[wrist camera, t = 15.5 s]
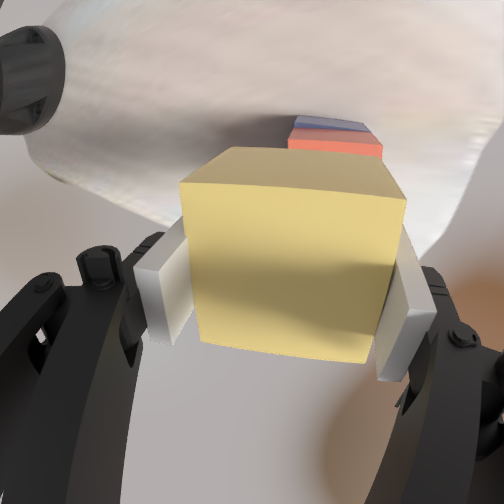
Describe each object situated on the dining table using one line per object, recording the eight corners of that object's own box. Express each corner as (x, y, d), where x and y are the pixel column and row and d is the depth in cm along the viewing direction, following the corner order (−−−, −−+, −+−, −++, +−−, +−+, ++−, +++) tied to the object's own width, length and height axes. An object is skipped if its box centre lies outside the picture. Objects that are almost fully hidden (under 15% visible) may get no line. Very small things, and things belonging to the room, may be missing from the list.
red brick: (294, 198, 26) (288, 225, 22) (294, 127, 23) (287, 139, 19) (365, 203, 25) (373, 230, 21) (370, 132, 22) (382, 145, 18)
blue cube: (294, 175, 30) (289, 193, 26) (298, 115, 27) (294, 122, 23) (355, 183, 29) (360, 202, 25) (362, 123, 26) (371, 131, 22)
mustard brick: (236, 269, 16) (200, 341, 11) (231, 146, 13) (178, 182, 8) (360, 283, 14) (364, 363, 10) (379, 156, 11) (406, 199, 7)
